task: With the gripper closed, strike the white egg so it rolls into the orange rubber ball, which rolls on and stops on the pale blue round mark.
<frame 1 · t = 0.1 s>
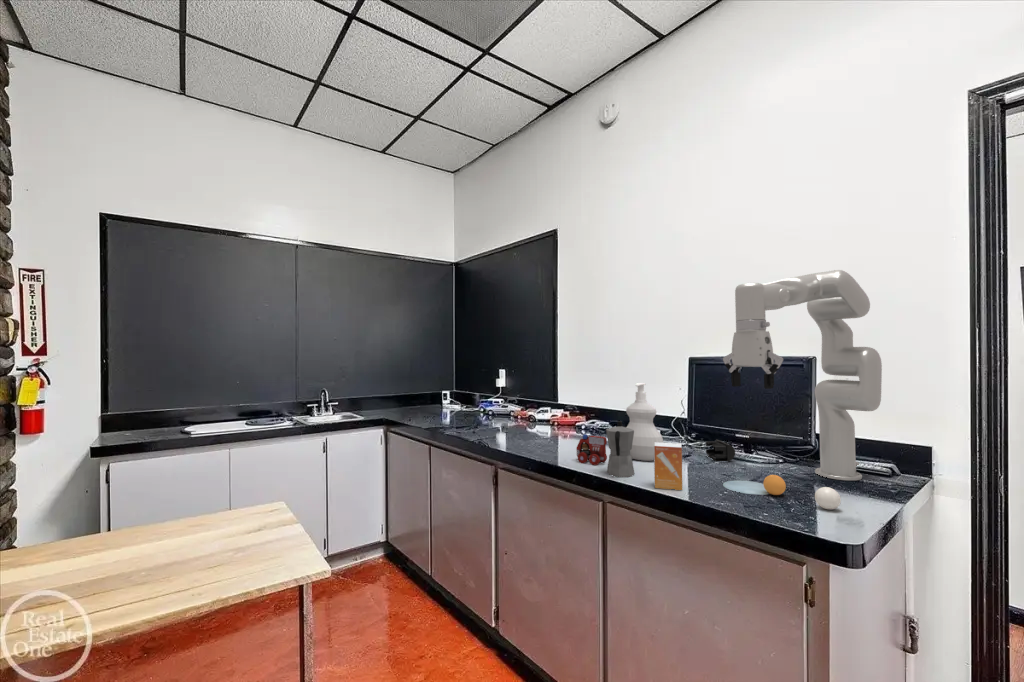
hand: (752, 387, 128), 31 cm above the counter, tool pointing down, fingers open, 9 cm apart
soap bottle: (641, 459, 176), on the counter
small box: (668, 487, 139), on the counter
toy fire truck: (591, 463, 171), on the counter
coffeepot: (620, 475, 153), on the counter
object ball: (774, 484, 131), on the counter
white egg: (827, 498, 118), on the counter
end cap: (720, 460, 174), on the counter
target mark: (748, 487, 137), on the counter
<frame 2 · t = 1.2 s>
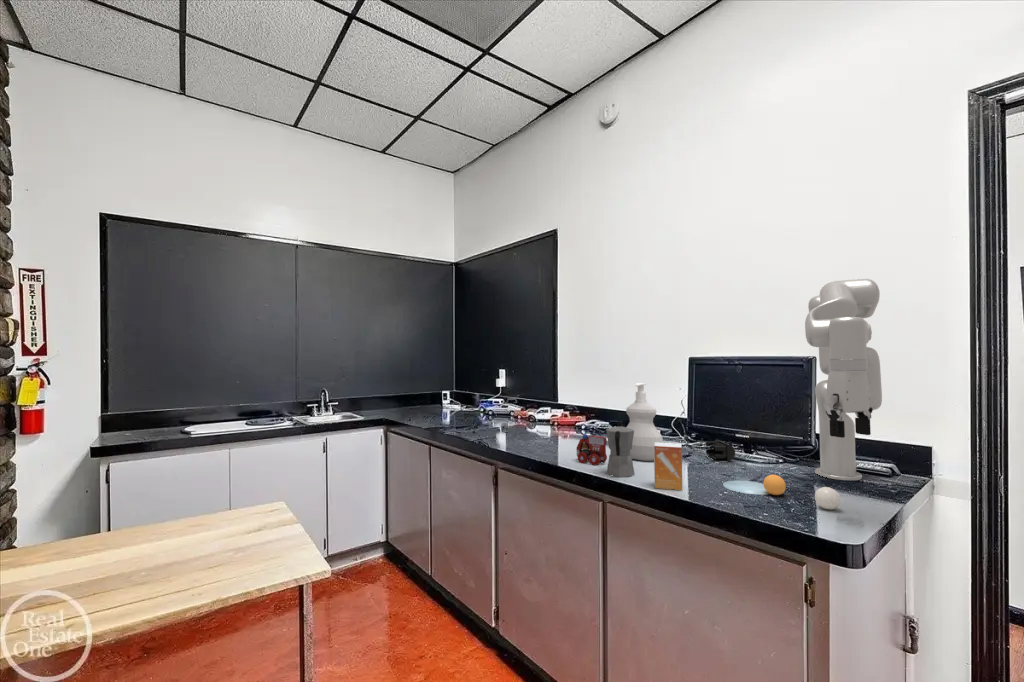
hand: (850, 435, 113), 20 cm above the counter, tool pointing down, fingers open, 9 cm apart
nothing on the counter moved.
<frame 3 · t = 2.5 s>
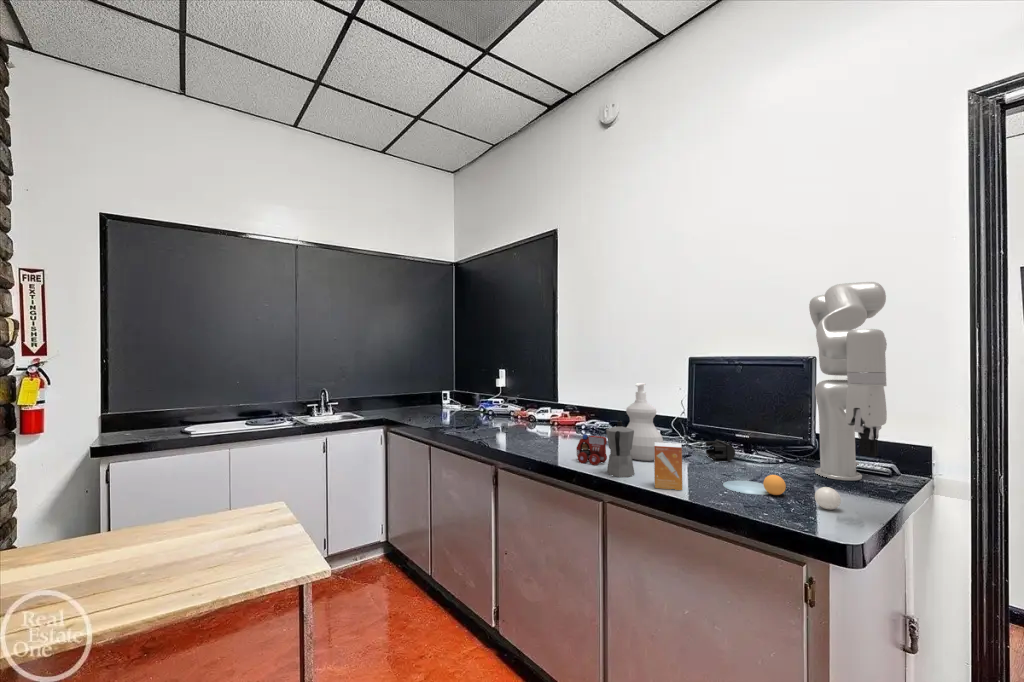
hand: (869, 455, 110), 16 cm above the counter, tool pointing down, fingers closed
nothing on the counter moved.
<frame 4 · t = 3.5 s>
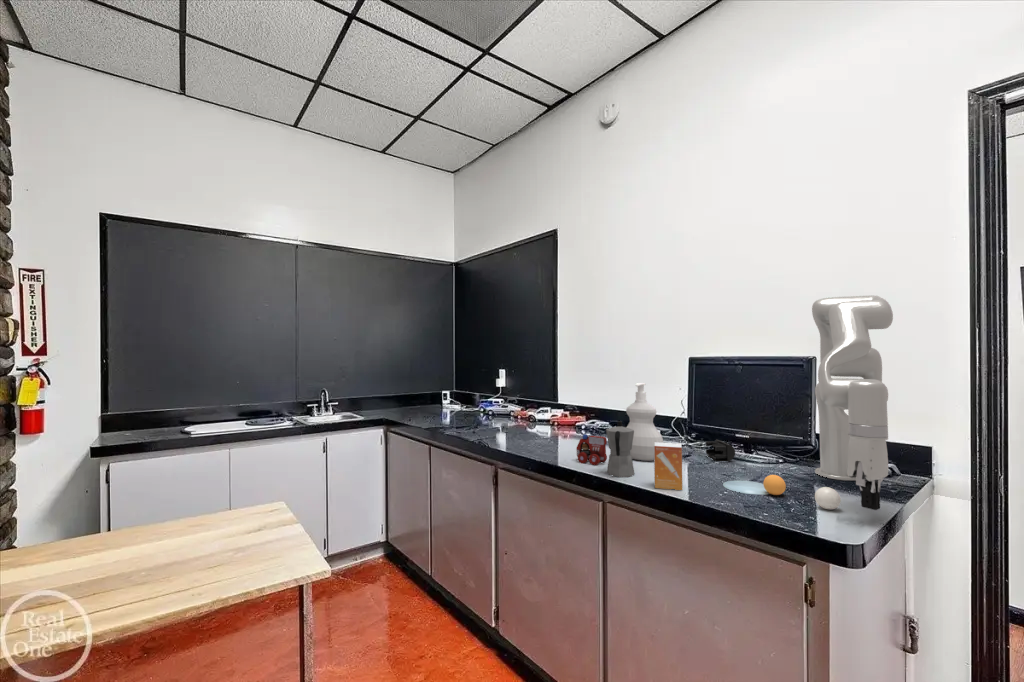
hand: (870, 507, 110), 3 cm above the counter, tool pointing down, fingers closed
nothing on the counter moved.
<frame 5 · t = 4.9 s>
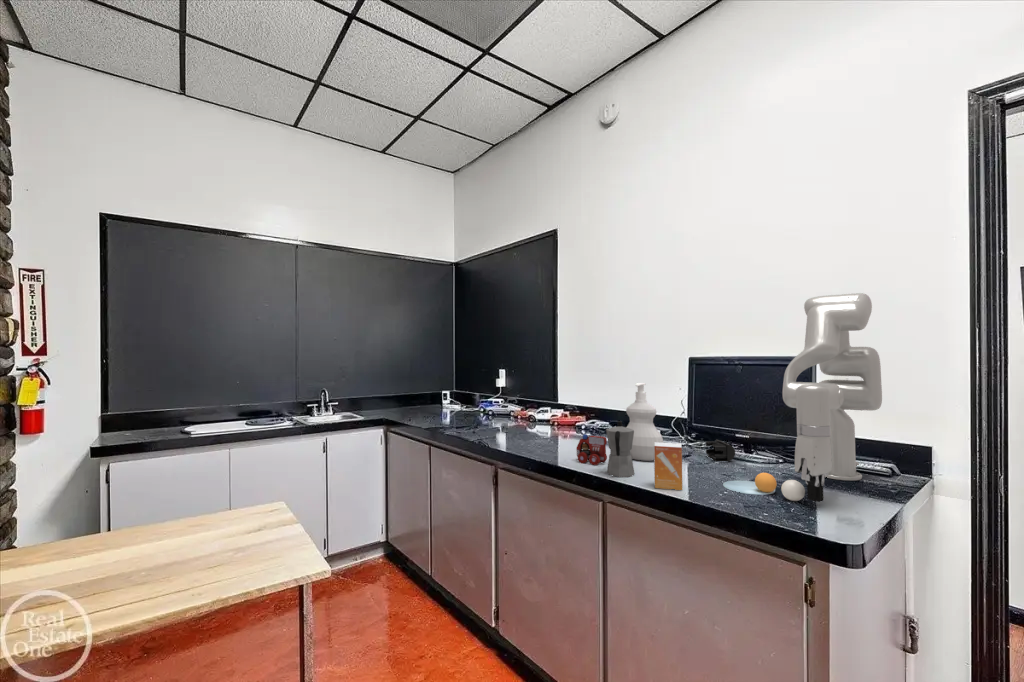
hand: (815, 500, 121), 1 cm above the counter, tool pointing down, fingers closed
object ball: (765, 482, 133), on the counter
white egg: (793, 490, 125), on the counter
everything else where it was.
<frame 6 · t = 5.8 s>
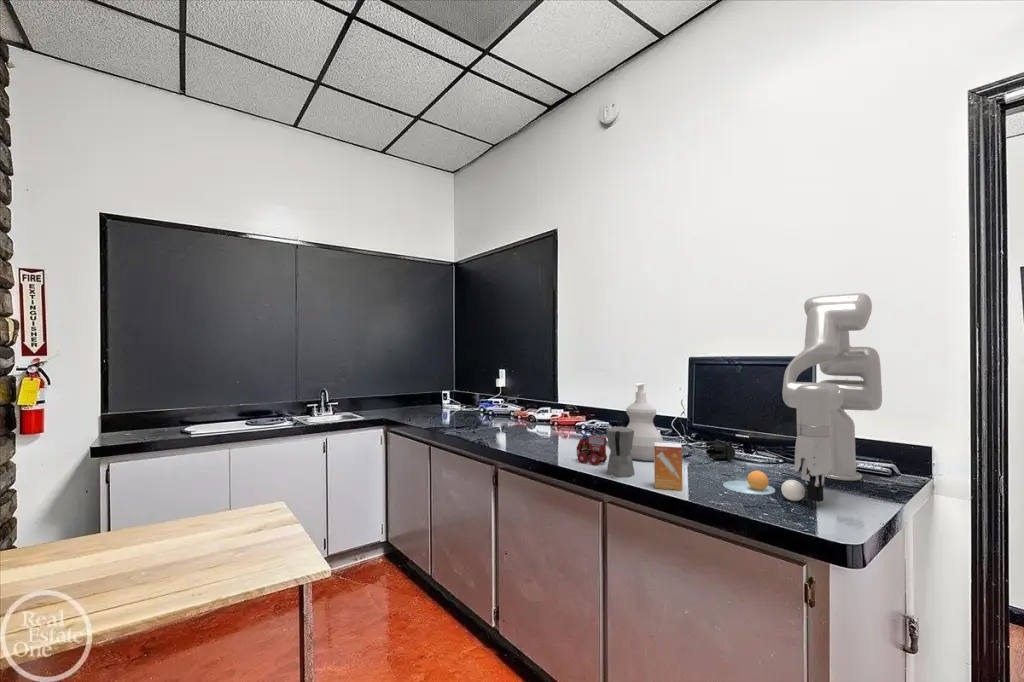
hand: (815, 500, 121), 2 cm above the counter, tool pointing down, fingers closed
object ball: (757, 480, 135), on the counter
everything else where it was.
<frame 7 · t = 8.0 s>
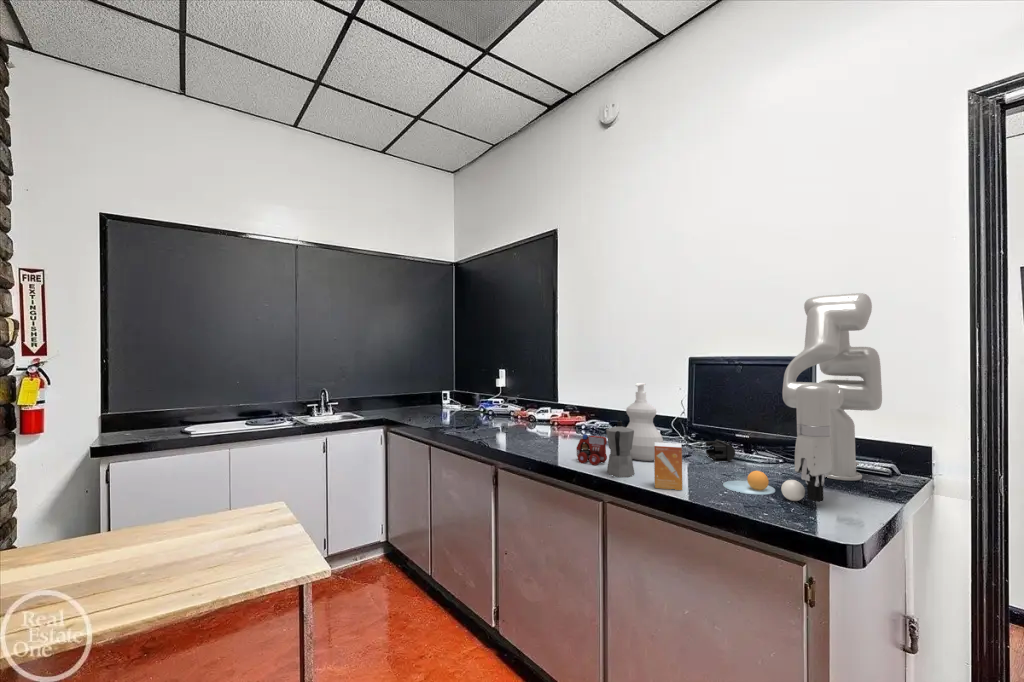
hand: (815, 500, 121), 2 cm above the counter, tool pointing down, fingers closed
nothing on the counter moved.
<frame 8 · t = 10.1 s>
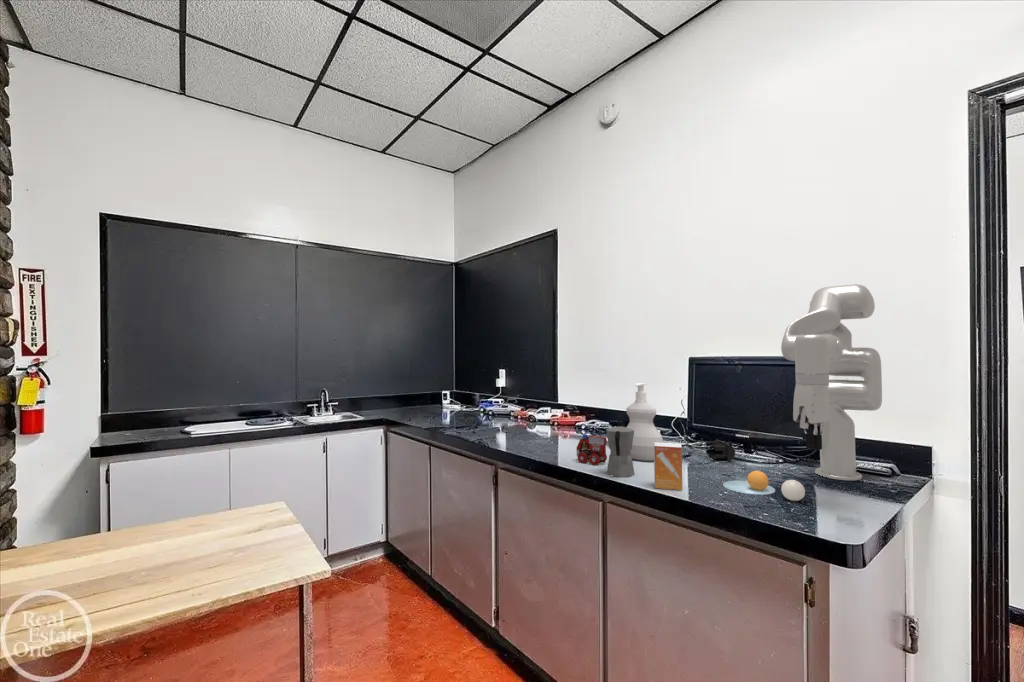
hand: (814, 448, 121), 15 cm above the counter, tool pointing down, fingers closed
nothing on the counter moved.
at the end: object ball 2.9 cm from the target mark (horizontally); object ball never touched the robot; white egg first touched object ball at 4.5 s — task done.
